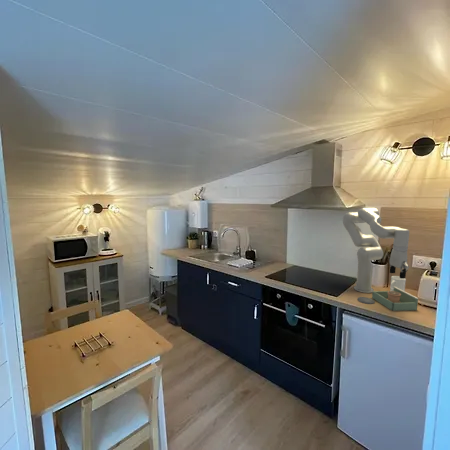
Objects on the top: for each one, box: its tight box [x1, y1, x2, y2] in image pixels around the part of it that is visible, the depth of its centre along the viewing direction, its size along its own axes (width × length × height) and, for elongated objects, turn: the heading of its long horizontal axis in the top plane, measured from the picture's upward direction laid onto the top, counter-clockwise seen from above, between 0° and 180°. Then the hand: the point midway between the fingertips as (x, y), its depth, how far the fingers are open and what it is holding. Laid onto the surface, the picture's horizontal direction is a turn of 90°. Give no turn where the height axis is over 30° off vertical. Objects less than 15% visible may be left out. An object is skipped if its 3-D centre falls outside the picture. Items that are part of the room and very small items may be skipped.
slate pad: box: [357, 296, 376, 305], centre depth 172 cm, size 10×10×1 cm
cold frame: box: [371, 287, 419, 312], centre depth 168 cm, size 20×16×8 cm
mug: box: [389, 275, 407, 292], centre depth 186 cm, size 9×12×11 cm
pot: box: [387, 290, 401, 303], centre depth 168 cm, size 7×7×7 cm
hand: (397, 275), depth 164 cm, fingers open, 9 cm apart
